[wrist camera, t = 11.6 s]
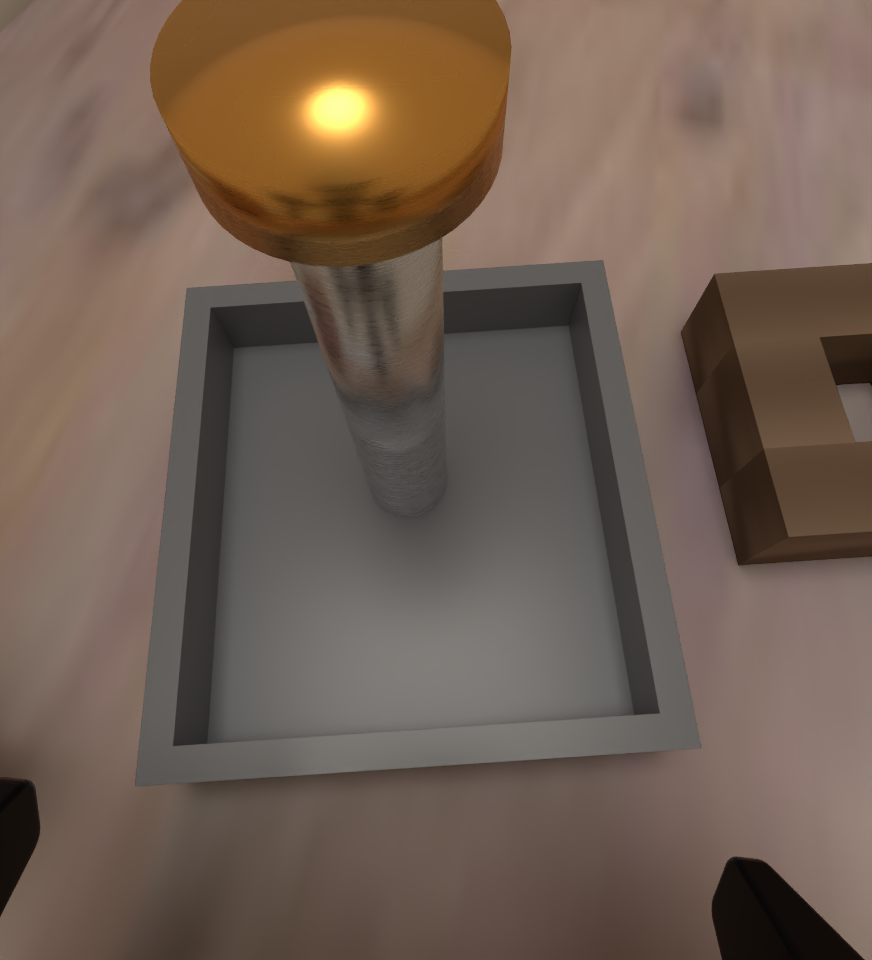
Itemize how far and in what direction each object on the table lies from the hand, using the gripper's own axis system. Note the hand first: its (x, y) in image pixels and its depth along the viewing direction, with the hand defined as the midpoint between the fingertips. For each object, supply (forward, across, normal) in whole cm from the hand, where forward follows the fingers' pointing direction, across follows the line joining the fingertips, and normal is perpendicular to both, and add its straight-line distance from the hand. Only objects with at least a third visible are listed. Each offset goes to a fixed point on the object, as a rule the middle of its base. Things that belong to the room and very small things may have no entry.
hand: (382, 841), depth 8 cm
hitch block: (+14, -13, -3) cm, 20 cm away
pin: (+12, 0, 0) cm, 12 cm away
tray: (+12, 0, +1) cm, 12 cm away
